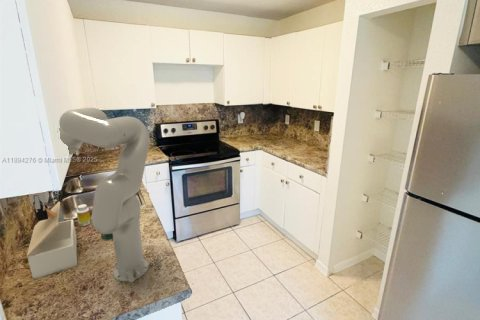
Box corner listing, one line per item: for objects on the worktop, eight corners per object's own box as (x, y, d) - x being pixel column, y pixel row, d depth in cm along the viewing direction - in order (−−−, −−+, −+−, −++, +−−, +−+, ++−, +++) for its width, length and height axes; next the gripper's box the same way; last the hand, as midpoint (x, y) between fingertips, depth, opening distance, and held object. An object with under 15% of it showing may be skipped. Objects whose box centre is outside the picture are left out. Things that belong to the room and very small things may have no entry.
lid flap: (57, 225, 96) (43, 218, 93) (28, 256, 93) (11, 250, 90) (60, 201, 115) (48, 195, 112) (35, 226, 113) (22, 220, 110)
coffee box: (39, 239, 120) (32, 208, 116) (50, 232, 126) (44, 202, 122) (57, 241, 119) (51, 209, 115) (68, 233, 125) (62, 203, 121)
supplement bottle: (92, 223, 134) (89, 205, 132) (80, 227, 131) (77, 209, 128) (89, 220, 138) (86, 202, 135) (77, 223, 134) (74, 206, 131)
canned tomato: (114, 240, 120) (111, 219, 117) (98, 240, 120) (94, 219, 117) (122, 231, 128) (119, 211, 125) (106, 231, 128) (103, 211, 125)
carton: (77, 266, 103) (73, 245, 100) (33, 279, 96) (27, 257, 93) (76, 237, 123) (73, 219, 120) (39, 246, 115) (35, 227, 113)
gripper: (43, 179, 93) (53, 224, 98) (47, 167, 107) (56, 207, 112) (16, 182, 90) (28, 229, 95) (24, 170, 103) (35, 212, 108)
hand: (43, 217), depth 103 cm, fingers closed on lid flap, 3 cm apart
